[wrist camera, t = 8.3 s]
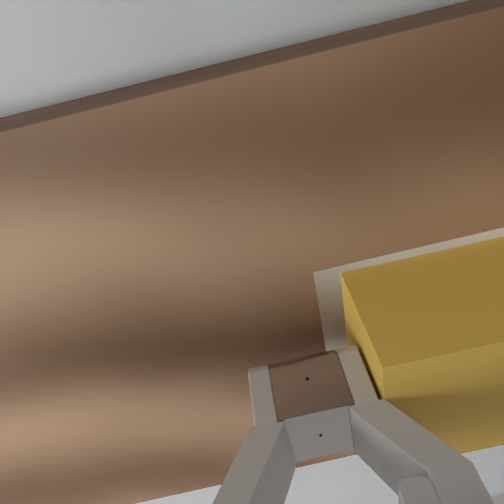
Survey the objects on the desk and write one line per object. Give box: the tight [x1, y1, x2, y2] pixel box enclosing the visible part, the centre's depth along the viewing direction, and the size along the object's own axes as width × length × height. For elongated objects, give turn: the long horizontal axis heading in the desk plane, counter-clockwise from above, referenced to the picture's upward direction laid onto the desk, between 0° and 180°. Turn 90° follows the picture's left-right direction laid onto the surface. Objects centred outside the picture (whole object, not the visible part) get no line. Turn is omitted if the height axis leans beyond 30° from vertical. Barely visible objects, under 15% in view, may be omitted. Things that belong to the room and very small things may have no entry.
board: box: [0, 0, 504, 504], centre depth 13 cm, size 14×28×1 cm, turn 102°
